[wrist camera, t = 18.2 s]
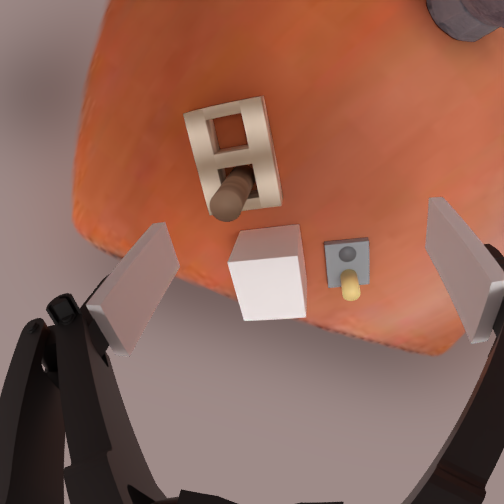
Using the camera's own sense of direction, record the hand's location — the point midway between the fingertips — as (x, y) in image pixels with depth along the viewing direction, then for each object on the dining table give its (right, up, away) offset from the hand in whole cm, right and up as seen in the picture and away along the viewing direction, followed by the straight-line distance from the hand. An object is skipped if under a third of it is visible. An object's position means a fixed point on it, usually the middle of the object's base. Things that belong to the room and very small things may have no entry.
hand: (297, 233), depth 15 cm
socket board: (-4, +11, +23) cm, 26 cm away
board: (+11, -2, +28) cm, 31 cm away
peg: (-3, +9, +24) cm, 26 cm away
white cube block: (+1, -2, +30) cm, 30 cm away
